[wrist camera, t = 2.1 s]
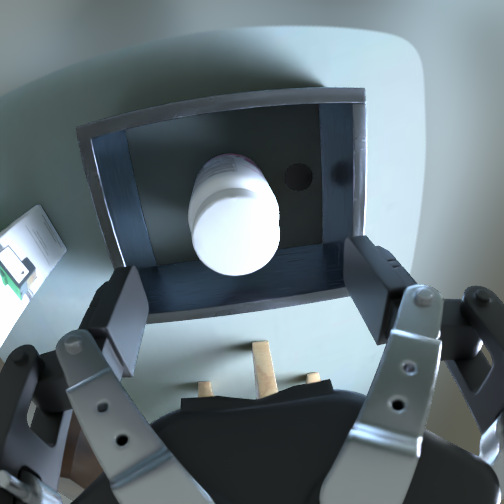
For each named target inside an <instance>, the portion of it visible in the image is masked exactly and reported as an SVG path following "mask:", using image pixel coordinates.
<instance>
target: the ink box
mask: <svg viewBox="0 0 504 504" xmlns="http://www.w3.org/2000/svg"><path fill="white" fill-rule="evenodd" d="M66 252H67V249H66V247H65V245H64V244H63V242H62V240H61V238H60V237H59V235H58V233H57V232H56V230H55V228H54V227H53V225H52V223H51V222H50V220H49V218H48V217H47V215H46V213H45V212H44V210H43V208H42V207H41V205H36V206H34V207H33V208H32V209H30V210H29V211H27V212H26V213H25V214H23V215H22V216H20V217H19V218H18V219H16V220H15V221H14V222H12V223H11V224H10V225H8V226H7V227H6V228H5V229H3V230H2V231H1V232H0V347H1V346H2V344H3V342H4V340H5V339H6V337H7V335H8V334H9V332H10V330H11V329H12V327H13V326H14V324H15V323H16V321H17V319H18V318H19V316H20V315H21V313H22V312H23V310H24V309H25V307H26V306H27V304H28V303H29V301H30V300H31V298H32V297H33V296H34V294H35V293H36V291H37V290H38V288H39V287H40V286H41V284H42V283H43V282H44V280H45V279H46V278H47V276H48V275H49V273H50V272H51V271H52V270H53V268H54V267H55V266H56V264H57V263H58V262H59V260H60V259H61V258H62V256H63V255H64V254H65V253H66Z"/></svg>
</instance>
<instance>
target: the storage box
mask: <svg viewBox="0 0 504 504" xmlns="http://www.w3.org/2000/svg"><path fill="white" fill-rule="evenodd" d="M316 103H318V107H319V123H320V141H321V164H322V201H323V243H321V244H314V245H307V246H300V247H292V248H285V249H278V250H276V251H275V253H274V255H273V257H272V258H271V259H270V260H269V261H268V263H266V264H265V265H264V266H263V267H261V268H260V269H258V270H256V271H254V272H251V273H248V274H244V275H236V276H235V275H225V274H221V273H218V272H216V271H214V270H212V269H210V268H209V267H207V266H206V265H205V264H204V263H203V262H202V261H201V260H197V261H189V262H182V263H175V264H167V265H160V266H157V264H156V260H155V257H154V253H153V250H152V246H151V242H150V239H149V235H148V231H147V227H146V223H145V219H144V215H143V211H142V207H141V203H140V199H139V195H138V190H137V186H136V181H135V177H134V172H133V168H132V163H131V158H130V153H129V148H128V143H127V138H126V132H125V129H129V128H133V127H138V126H142V125H147V124H152V123H156V122H161V121H166V120H172V119H177V118H183V117H188V116H194V115H201V114H207V113H214V112H221V111H229V110H237V109H246V108H256V107H267V106H279V105H294V104H316ZM365 103H366V96H365V88H345V87H318V88H290V89H274V90H261V91H250V92H241V93H232V94H224V95H216V96H209V97H203V98H196V99H190V100H184V101H179V102H173V103H168V104H163V105H158V106H153V107H149V108H144V109H140V110H136V111H131V112H127V113H123V114H119V115H116V116H112V117H108V118H105V119H101V120H98V121H94V122H91V123H88V124H84V125H81V126H78V127H76V134H77V139H78V142H79V148H80V152H81V157H82V161H83V166H84V170H85V174H86V178H87V182H88V186H89V190H90V193H91V197H92V201H93V204H94V208H95V211H96V215H97V218H98V221H99V225H100V228H101V231H102V234H103V238H104V241H105V244H106V247H107V250H108V253H109V256H110V259H111V262H112V264H113V267H114V270H115V269H116V268H118V267H125V266H133V265H134V266H135V267H136V268H137V270H138V273H139V276H140V279H141V282H142V285H143V288H144V291H145V294H146V297H147V300H148V306H149V312H148V317H147V321H146V324H152V323H163V322H173V321H182V320H191V319H200V318H209V317H217V316H225V315H233V314H240V313H248V312H255V311H262V310H269V309H276V308H282V307H289V306H295V305H302V304H308V303H314V302H320V301H326V300H331V299H337V298H343V297H348V296H350V294H349V292H348V290H347V289H346V286H345V283H344V278H343V267H344V247H345V240H346V238H347V237H354V236H362V235H364V230H365V212H366V184H367V125H366V104H365ZM311 182H312V172H311V170H310V168H309V167H307V166H306V165H304V164H294V165H292V166H290V167H289V168H288V169H287V171H286V173H285V183H286V185H287V186H288V187H289V188H290V189H292V190H294V191H302V190H304V189H306V188H307V187H308V186H309V185H310V184H311Z"/></svg>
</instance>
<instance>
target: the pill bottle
mask: <svg viewBox="0 0 504 504" xmlns="http://www.w3.org/2000/svg"><path fill="white" fill-rule="evenodd" d="M278 222H279V209H278V205H277V201H276V198H275V196H274V194H273V192H272V190H271V188H270V186H269V185H268V183H267V181H266V179H265V177H264V175H263V173H262V172H261V170H260V168H259V167H258V166H257V165H256V164H255V163H254V162H253V161H252V160H251V159H249V158H247V157H245V156H243V155H240V154H234V153H228V154H222V155H218V156H216V157H214V158H212V159H210V160H209V161H208V162H206V163H205V164H204V166H203V167H202V168H201V170H200V171H199V173H198V175H197V178H196V181H195V185H194V188H193V192H192V196H191V200H190V204H189V209H188V223H189V228H190V231H191V233H192V243H193V247H194V250H195V252H196V254H197V256H198V257H199V259H200V260H201V261H202V262H203V263H204V264H205V265H206V266H207V267H209V268H210V269H212V270H214V271H216V272H218V273H221V274H225V275H235V276H236V275H244V274H248V273H251V272H254V271H256V270H258V269H260V268H261V267H263V266H264V265H265V264H266V263H268V261H269V260H270V259H271V258H272V257H273V255H274V253H275V251H276V249H277V247H278V243H279V238H280V231H279V225H278Z"/></svg>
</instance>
